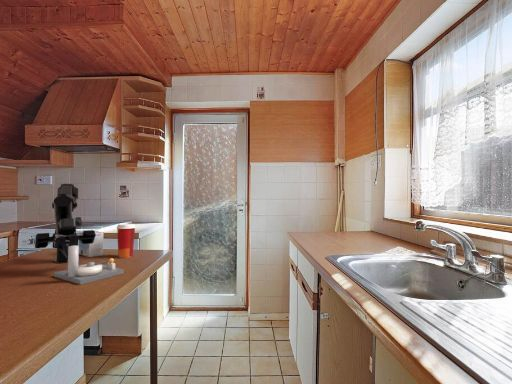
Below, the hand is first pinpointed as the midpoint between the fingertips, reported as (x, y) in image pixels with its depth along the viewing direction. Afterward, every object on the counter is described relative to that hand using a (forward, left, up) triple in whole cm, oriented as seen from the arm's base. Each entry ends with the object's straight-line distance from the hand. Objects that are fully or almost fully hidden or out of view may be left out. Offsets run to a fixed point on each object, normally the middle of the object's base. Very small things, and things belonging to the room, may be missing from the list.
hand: (68, 257), depth 106 cm
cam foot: (+8, +3, -5) cm, 10 cm away
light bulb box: (-26, +24, -7) cm, 36 cm away
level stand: (+6, +4, -6) cm, 10 cm away
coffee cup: (-9, +30, -7) cm, 32 cm away
